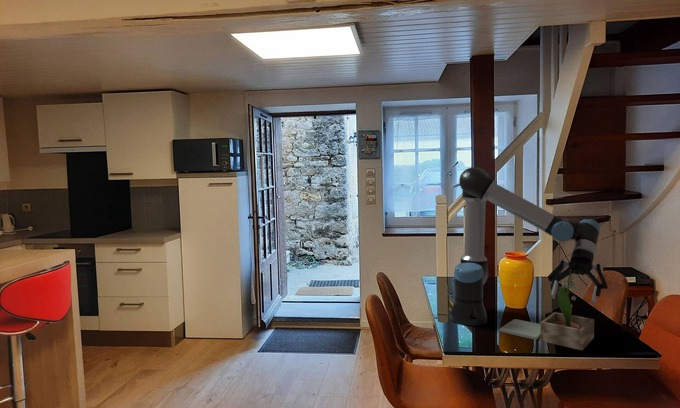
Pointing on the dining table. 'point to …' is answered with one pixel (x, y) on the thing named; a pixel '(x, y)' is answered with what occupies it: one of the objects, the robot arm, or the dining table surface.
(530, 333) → the pad
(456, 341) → the dining table surface
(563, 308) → the potted flower
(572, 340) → the open wooden box
